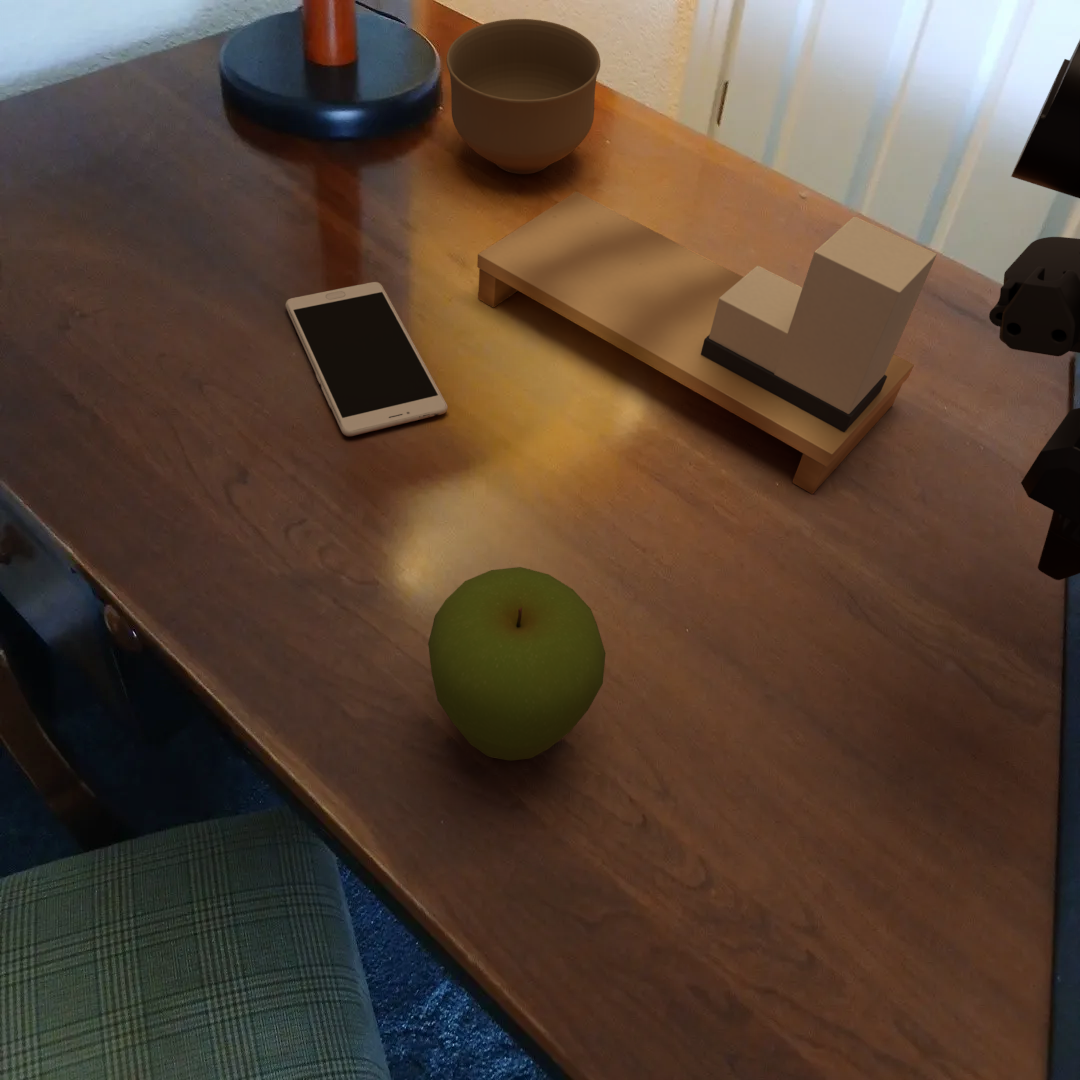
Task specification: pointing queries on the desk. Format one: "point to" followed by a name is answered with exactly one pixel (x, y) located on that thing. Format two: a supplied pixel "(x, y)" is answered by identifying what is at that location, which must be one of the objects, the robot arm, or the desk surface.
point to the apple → (515, 661)
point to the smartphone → (364, 359)
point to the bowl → (523, 91)
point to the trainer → (823, 322)
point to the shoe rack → (659, 316)
